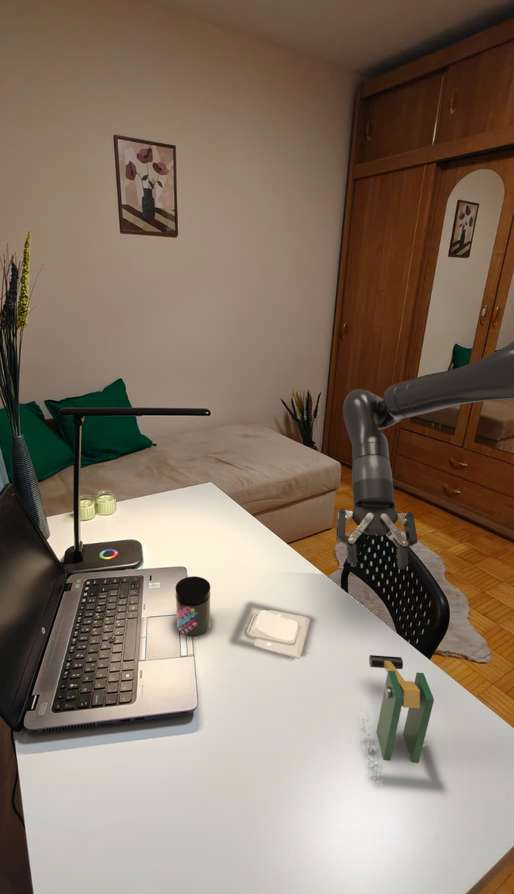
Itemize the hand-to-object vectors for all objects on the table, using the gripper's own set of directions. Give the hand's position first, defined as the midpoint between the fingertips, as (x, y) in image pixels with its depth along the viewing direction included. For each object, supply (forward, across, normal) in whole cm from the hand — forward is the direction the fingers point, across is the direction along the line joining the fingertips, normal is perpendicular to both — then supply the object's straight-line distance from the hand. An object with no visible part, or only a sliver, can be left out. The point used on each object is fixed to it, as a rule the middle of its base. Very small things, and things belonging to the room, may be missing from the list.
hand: (378, 567), depth 80 cm
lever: (+19, 0, -6) cm, 19 cm away
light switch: (+12, -18, +13) cm, 25 cm away
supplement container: (+12, -34, +13) cm, 38 cm away
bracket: (+28, 0, -3) cm, 28 cm away
